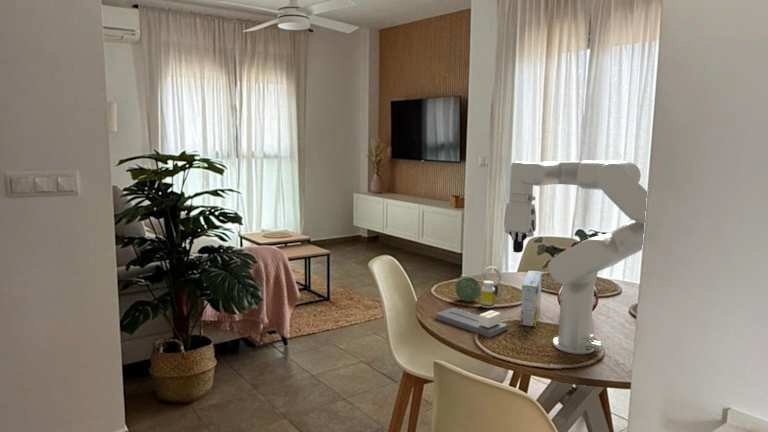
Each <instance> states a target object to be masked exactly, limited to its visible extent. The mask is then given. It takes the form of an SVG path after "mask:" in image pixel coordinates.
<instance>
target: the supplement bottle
mask: <svg viewBox="0 0 768 432" xmlns="http://www.w3.org/2000/svg"><path fill="white" fill-rule="evenodd" d="M494 283H495V282H494V281H493V280H487V281H485V280H483V286H482V287H480V288H481V290H480V302H479V303H480V306H481V307H482V308H486V309H491V308H494V307H495V298H496V297H495V296H496V294H495V288H494V287H493V286H494Z"/></svg>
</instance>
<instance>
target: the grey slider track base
mask: <svg viewBox="0 0 768 432" xmlns="http://www.w3.org/2000/svg"><path fill="white" fill-rule="evenodd" d="M479 315H480V314H475V313H472V312H469V311H466V310H463V309H460V308H457V307H451V308H447V309H445V310H441V311H438V312H436V313H435V319H436V320H437V321H438V320H439V321H441V322H445V323H447V324H450V325H453V326H456V327H459V328H462V329H464V330H467V331H470V332H473V333H475V334H478V333H479V335H481V334H482V335H481V336H484V335H485V336H484V337H487V336H488V337H487V338H490V337H491V338H493V337H495V336H497V334H498V335H500V334H502V333H504V332H503V331H505V330H507V329H508V327H509V326H508V324H507V323H504V322H501V323H499V324H496V325H494V326H492V327H489V328H487V327H484V326H481V325H479ZM507 331H508V330H507ZM501 332H502V333H501ZM505 332H506V331H505ZM499 333H500V334H499ZM494 335H495V336H494ZM492 336H493V337H492Z"/></svg>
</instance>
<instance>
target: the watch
mask: <svg viewBox="0 0 768 432" xmlns="http://www.w3.org/2000/svg"><path fill="white" fill-rule="evenodd" d="M490 269H493V270H494V272H495V274H496V276H497V278H498V280H497V281H496V282H494V286H493V287H494V288H495V293H498V290H499V287H498V286H499V285H498V284H500V283H501V281H502V278H503V276H502V274H501V272H500V270H499V269H498V266H494V265H490V266H487V267H485V268H484V270H483V272H482V278H483V280H484V281H488V279H487V278H486V271H487V270H490ZM498 294H499V293H498Z"/></svg>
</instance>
